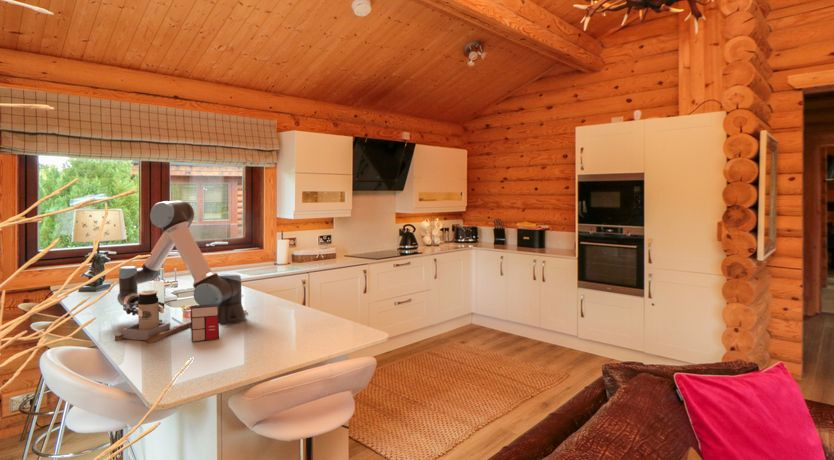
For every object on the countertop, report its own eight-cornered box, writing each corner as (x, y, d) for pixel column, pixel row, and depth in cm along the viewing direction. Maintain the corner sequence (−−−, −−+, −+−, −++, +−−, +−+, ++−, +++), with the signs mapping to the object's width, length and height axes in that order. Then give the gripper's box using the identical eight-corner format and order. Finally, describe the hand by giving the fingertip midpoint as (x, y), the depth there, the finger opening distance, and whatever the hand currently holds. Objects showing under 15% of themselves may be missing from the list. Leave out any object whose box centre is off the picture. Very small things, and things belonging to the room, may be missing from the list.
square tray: (170, 331, 223) (169, 323, 223) (148, 340, 211) (148, 331, 210) (145, 329, 226) (145, 321, 226) (122, 338, 214) (122, 329, 213)
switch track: (191, 326, 234) (191, 321, 234) (150, 343, 209) (150, 338, 208) (158, 323, 238) (158, 319, 237) (114, 339, 212) (114, 334, 212)
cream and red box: (191, 342, 210) (190, 308, 209) (191, 339, 214) (190, 305, 213) (219, 339, 214) (218, 305, 213) (219, 337, 218) (218, 303, 217)
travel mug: (145, 329, 224) (144, 289, 222) (162, 329, 224) (161, 290, 222) (135, 334, 216) (133, 293, 214) (153, 334, 216) (151, 294, 214)
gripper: (159, 306, 239) (177, 315, 223) (110, 314, 224) (126, 324, 209) (158, 291, 238) (176, 299, 223) (109, 298, 224) (125, 307, 208)
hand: (152, 311), depth 216 cm, fingers closed on travel mug, 8 cm apart
